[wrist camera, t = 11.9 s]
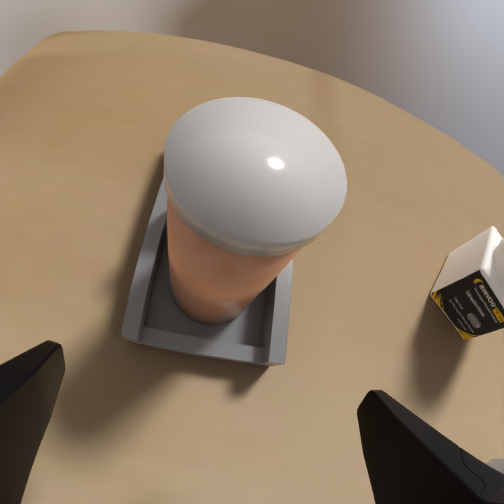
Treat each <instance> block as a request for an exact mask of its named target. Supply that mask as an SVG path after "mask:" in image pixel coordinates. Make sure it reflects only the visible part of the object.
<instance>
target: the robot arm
mask: <svg viewBox="0 0 504 504" xmlns="http://www.w3.org/2000/svg"><path fill="white" fill-rule="evenodd" d="M64 373H65V362H64V355H63V349H62V346H61V344H59V343H56V342H53V341H50V340H47V341H45V342H43V343H41V344H39V345H37V346H35V347H33V348H32V349H30V350H28V351H26V352H24V353H22V354H20V355H18V356H16V357H14V358H12V359H10V360H9V361H7V362H5V363H3V364H1V365H0V504H21V500H22V497H23V494H24V490H25V487H26V484H27V481H28V478H29V475H30V472H31V469H32V466H33V463H34V460H35V457H36V454H37V452H38V449H39V446H40V444H41V441H42V438H43V436H44V433H45V431H46V428H47V426H48V423H49V421H50V418H51V415H52V412H53V409H54V405H55V402H56V398H57V395H58V392H59V389H60V385H61V382H62V379H63V376H64ZM357 417H358V423H359V430H360V436H361V443H362V449H363V454H364V459H365V463H366V467H367V471H368V475H369V479H370V483H371V487H372V491H373V495H374V499H375V504H504V474H503V473H501V472H499V471H497V470H496V469H494V468H492V467H490V466H488V465H487V464H485V463H483V462H482V461H480V460H478V459H477V458H475V457H474V456H472V455H471V454H469V453H468V452H466V451H465V450H463V449H462V448H459V446H458V445H456V444H455V443H453V442H452V441H451V440H449V439H448V438H446V437H445V436H444V435H442V434H441V433H440V432H438V431H437V430H435V429H434V428H433V427H431V426H430V425H428V424H427V423H426V422H424V421H423V420H422V419H420V418H419V417H418V416H416V415H415V414H413V413H412V412H411V411H409V410H408V409H407V408H405V407H404V406H403V405H401V404H400V403H399V402H397V401H396V400H395V399H393V398H392V397H391V396H389V395H388V394H387V393H385V392H384V391H382V390H370V391H369V392H368V393H367V394H366V396H365V398H364V399H363V401H362V402H361V404H360V405H359V407H358V409H357Z"/></svg>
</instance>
